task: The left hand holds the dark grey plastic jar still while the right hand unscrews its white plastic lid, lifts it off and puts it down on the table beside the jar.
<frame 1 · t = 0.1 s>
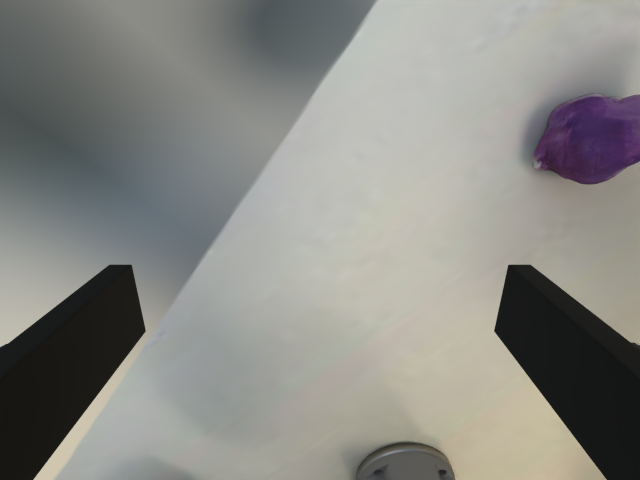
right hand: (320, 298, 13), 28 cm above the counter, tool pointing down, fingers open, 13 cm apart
figurine: (580, 129, 37), on the counter
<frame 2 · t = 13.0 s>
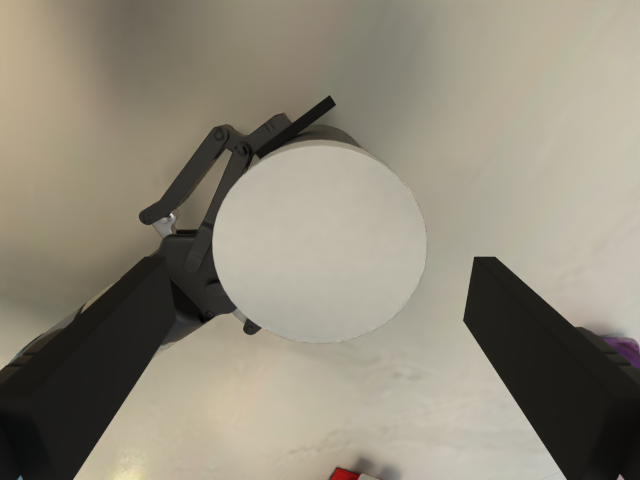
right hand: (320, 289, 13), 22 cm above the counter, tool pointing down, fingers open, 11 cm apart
lid: (319, 252, 17), point 18 cm above the counter, screwed on, not yet turned
figurine: (572, 363, 42), on the counter
jar: (319, 175, 34), on the counter, touching left hand
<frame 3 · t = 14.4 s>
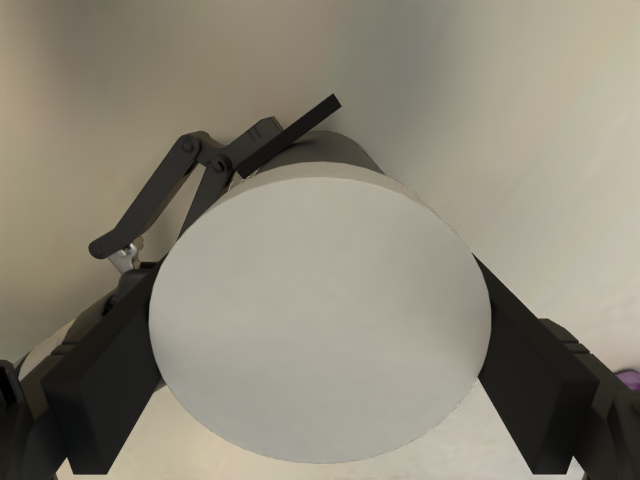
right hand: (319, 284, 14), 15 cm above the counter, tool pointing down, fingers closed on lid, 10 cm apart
lid: (319, 338, 11), point 18 cm above the counter, screwed on, not yet turned, touching right hand
figurine: (615, 406, 36), on the counter
jar: (320, 191, 28), on the counter, touching left hand
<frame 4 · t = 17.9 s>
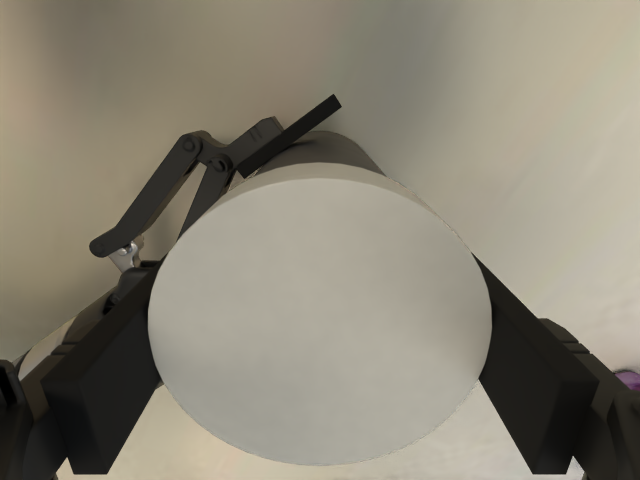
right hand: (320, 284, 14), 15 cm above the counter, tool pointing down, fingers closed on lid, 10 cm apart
lid: (319, 339, 10), point 19 cm above the counter, turned 114° so far, risen 0.2 cm, still on its thread, touching right hand
figurine: (612, 407, 36), on the counter
jar: (320, 190, 28), on the counter, touching left hand
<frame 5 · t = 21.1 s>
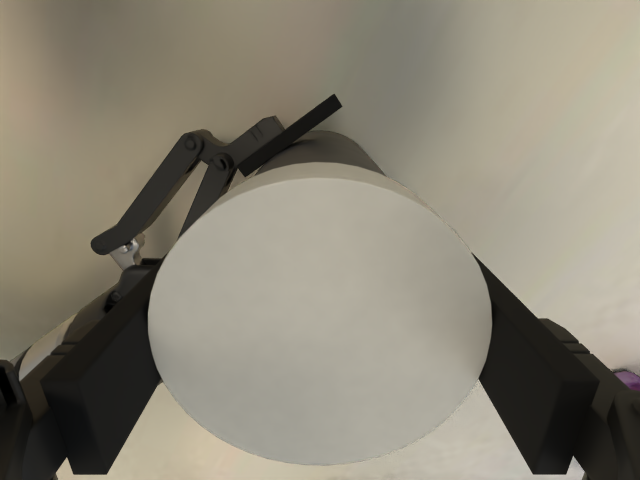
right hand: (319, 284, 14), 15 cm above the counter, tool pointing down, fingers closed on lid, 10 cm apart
lid: (319, 339, 10), point 19 cm above the counter, turned 228° so far, risen 0.4 cm, still on its thread, touching right hand
figurine: (608, 406, 36), on the counter
jar: (319, 190, 28), on the counter, touching left hand
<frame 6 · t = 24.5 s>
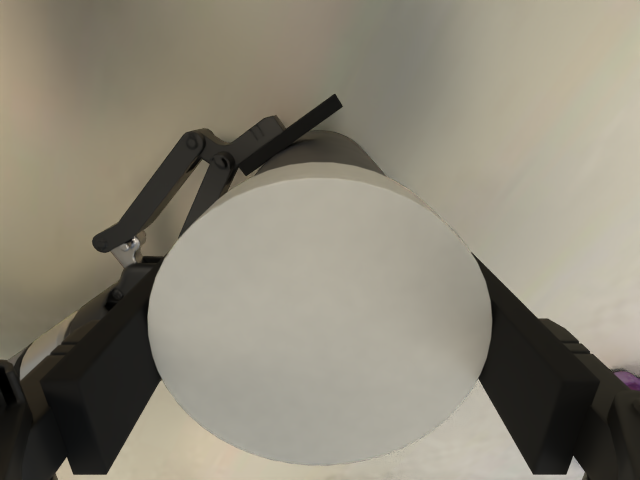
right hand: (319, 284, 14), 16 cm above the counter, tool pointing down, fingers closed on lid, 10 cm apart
lid: (319, 339, 10), point 19 cm above the counter, turned 342° so far, risen 0.6 cm, still on its thread, touching right hand
jar: (320, 189, 28), on the counter, touching left hand
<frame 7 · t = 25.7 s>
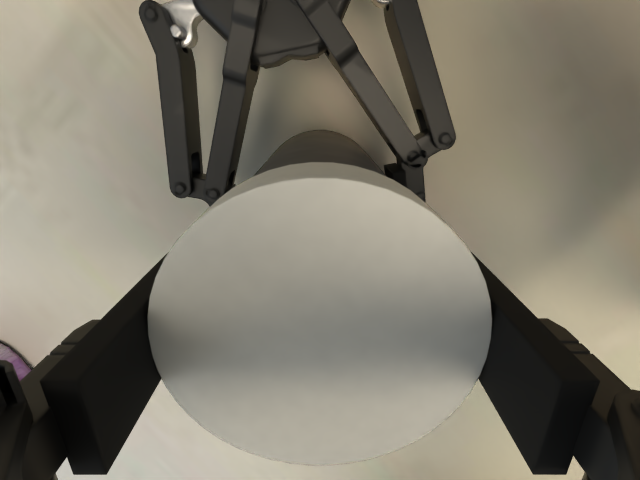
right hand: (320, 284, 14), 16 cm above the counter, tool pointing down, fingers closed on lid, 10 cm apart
lid: (319, 339, 10), point 19 cm above the counter, off its thread, touching right hand
jar: (320, 188, 28), on the counter, touching left hand
when the right hand's fingers open (0 cm above the counter, at t = 32.9 s): lid drops 2 cm, point 2 cm above the counter.
when the left hand's fingers open (7 cm above the counter, at t = 33.9 s): jar stays where it is, on the counter.
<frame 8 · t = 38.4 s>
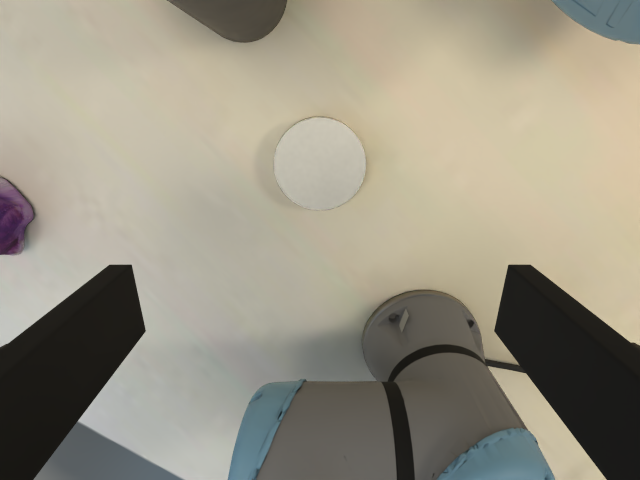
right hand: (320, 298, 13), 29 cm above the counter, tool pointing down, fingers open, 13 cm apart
lid: (319, 165, 38), point 2 cm above the counter, off its thread
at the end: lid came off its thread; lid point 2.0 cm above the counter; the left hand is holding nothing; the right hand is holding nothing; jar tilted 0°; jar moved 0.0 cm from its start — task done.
